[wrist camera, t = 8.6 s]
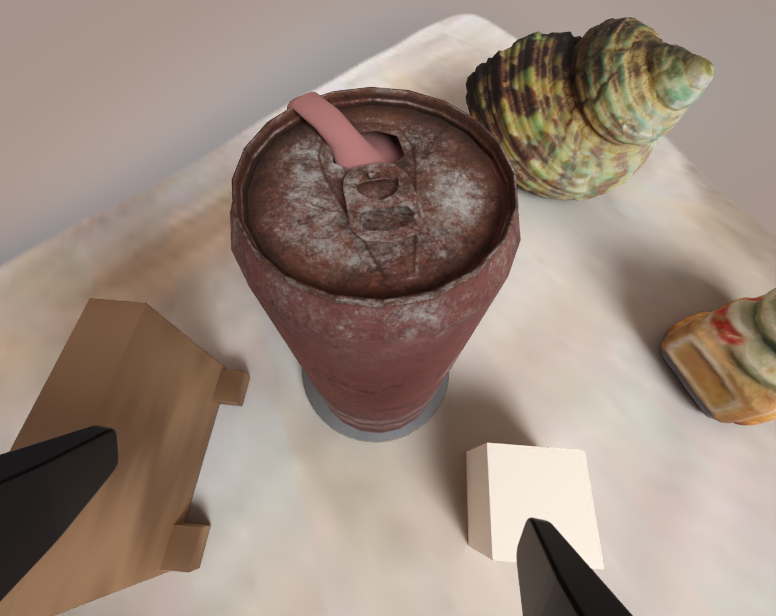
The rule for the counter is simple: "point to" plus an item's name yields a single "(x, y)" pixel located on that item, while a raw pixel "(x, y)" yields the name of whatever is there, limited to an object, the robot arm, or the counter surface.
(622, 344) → the counter surface
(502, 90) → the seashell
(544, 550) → the robot arm
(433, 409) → the coaster
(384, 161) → the can
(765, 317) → the ornament
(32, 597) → the screen
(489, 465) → the letter block
